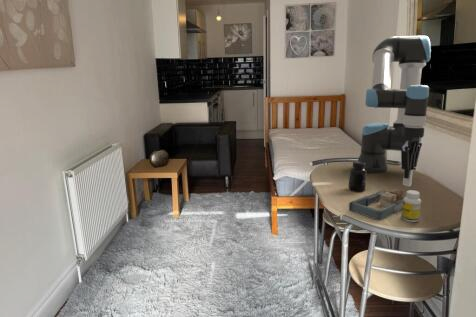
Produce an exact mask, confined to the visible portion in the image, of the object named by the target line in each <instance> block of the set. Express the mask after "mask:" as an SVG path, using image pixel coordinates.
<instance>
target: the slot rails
mask: <svg viewBox="0 0 476 317" xmlns="http://www.w3.org/2000/svg"><path fill="white" fill-rule="evenodd" d="M385 192H388V193H389V191H388V190H384V189H382V190H380V191H377V192H374V193H372V194H370V195H368V196H369V198H367V199H366V205H365V206H367V207H369V206H370V205H372V204H375V203H377V202H380V196H381V194H383V193H385ZM403 200H404V198H403V199H402V200H399V201H397V202H395V203H393V204H397V206H395V207H394V208H393V214H395V213H398V212H399V211H402V208H403ZM393 214H392V215H393Z"/></svg>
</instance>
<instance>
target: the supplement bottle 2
mask: <svg viewBox="0 0 476 317" xmlns="http://www.w3.org/2000/svg"><path fill="white" fill-rule="evenodd" d="M405 195H406V196H405V197H403V199H404V200H403V208H402V210H401V219H402V220H404V221H405V222H409V223H417V222H419V220H420V217H421V216H420V215H421V206H422V199H421V198H420V196H421V194H420V192H419V191H418V190H414V189H413V190H411V189H409V190H407V191H406V194H405Z"/></svg>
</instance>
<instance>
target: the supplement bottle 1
mask: <svg viewBox="0 0 476 317" xmlns="http://www.w3.org/2000/svg"><path fill="white" fill-rule="evenodd" d="M364 167H365V162H362V161H358V160H354V161H353V162H352V167H350V169H349V174H348V175H349V176H348V189H349V191H352V192H356V193H361V192H362V193H363V192H365V191H366V186H367V185H366V184H367V176H368V175H367V174H368V172H367V170H366V169H365V168H364Z"/></svg>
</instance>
